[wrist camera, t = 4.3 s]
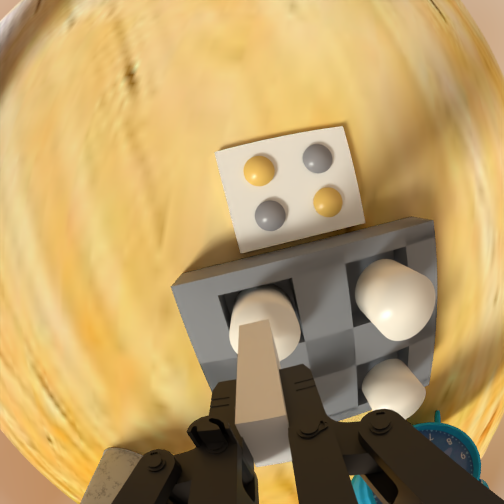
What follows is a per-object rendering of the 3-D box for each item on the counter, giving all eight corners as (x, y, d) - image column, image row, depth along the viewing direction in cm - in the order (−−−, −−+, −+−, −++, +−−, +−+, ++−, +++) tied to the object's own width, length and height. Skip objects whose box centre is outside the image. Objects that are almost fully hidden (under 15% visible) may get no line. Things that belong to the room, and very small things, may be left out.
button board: (182, 273, 19) (170, 286, 16) (411, 216, 18) (433, 220, 15) (237, 419, 22) (236, 442, 19) (414, 368, 21) (428, 384, 18)
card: (215, 153, 18) (213, 151, 17) (340, 128, 17) (344, 125, 16) (240, 251, 19) (240, 254, 18) (362, 222, 19) (367, 223, 18)
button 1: (225, 290, 18) (220, 312, 14) (285, 276, 18) (293, 295, 14) (241, 341, 19) (239, 370, 15) (296, 329, 18) (305, 355, 15)
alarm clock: (453, 391, 23) (534, 490, 3) (430, 440, 25) (484, 530, 5) (330, 431, 23) (376, 591, 3) (322, 475, 25) (349, 595, 5)
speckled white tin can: (107, 469, 25) (83, 527, 13) (99, 437, 23) (64, 506, 11) (168, 490, 26) (154, 553, 14) (170, 463, 24) (151, 541, 12)
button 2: (351, 267, 16) (375, 285, 12) (404, 252, 16) (435, 264, 12) (357, 323, 17) (378, 350, 13) (407, 306, 16) (434, 327, 13)
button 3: (361, 369, 17) (378, 397, 14) (406, 351, 17) (429, 375, 14) (362, 404, 18) (376, 432, 15) (404, 387, 18) (422, 412, 15)
